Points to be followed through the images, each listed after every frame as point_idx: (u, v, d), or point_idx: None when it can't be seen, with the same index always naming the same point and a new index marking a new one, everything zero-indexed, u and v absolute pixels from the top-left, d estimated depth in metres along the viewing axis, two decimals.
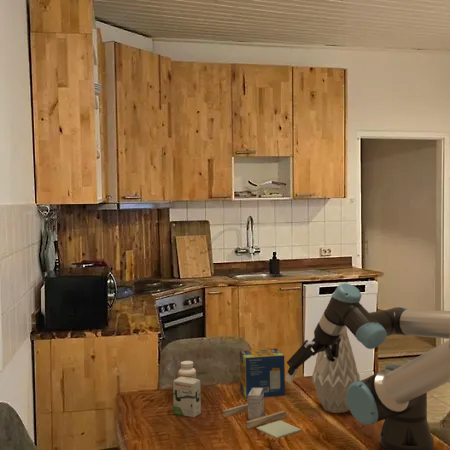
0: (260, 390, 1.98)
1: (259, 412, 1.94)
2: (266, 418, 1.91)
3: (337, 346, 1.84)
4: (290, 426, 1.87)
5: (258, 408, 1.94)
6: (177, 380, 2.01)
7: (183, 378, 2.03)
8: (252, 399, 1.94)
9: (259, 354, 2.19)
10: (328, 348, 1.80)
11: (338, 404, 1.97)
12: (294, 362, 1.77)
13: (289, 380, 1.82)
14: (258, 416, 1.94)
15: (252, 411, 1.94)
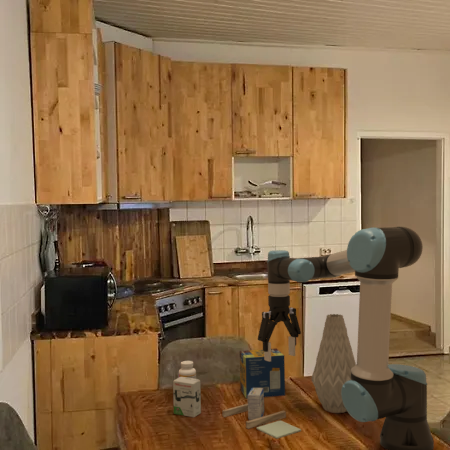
0: (260, 390, 1.98)
1: (259, 412, 1.94)
2: (266, 418, 1.91)
3: (295, 318, 2.06)
4: (290, 426, 1.87)
5: (258, 408, 1.94)
6: (177, 380, 2.01)
7: (183, 378, 2.03)
8: (252, 399, 1.94)
9: (259, 354, 2.19)
10: (286, 315, 2.02)
11: (338, 404, 1.97)
12: (262, 334, 1.98)
13: (268, 358, 1.99)
14: (258, 416, 1.94)
15: (252, 411, 1.94)
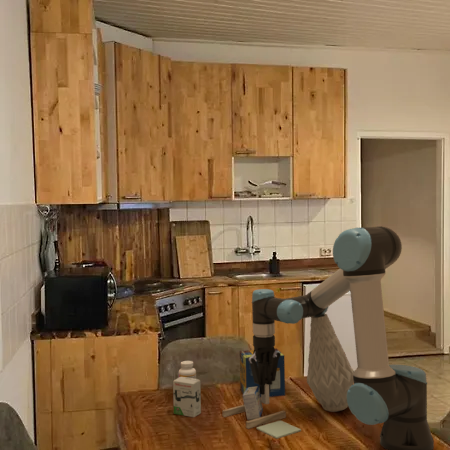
0: (255, 388, 1.98)
1: (256, 410, 1.93)
2: (266, 418, 1.91)
3: (276, 362, 2.01)
4: (290, 426, 1.87)
5: (255, 406, 1.93)
6: (177, 380, 2.01)
7: (183, 378, 2.03)
8: (247, 398, 1.94)
9: None
10: (270, 356, 1.99)
11: (336, 403, 1.97)
12: (256, 379, 1.97)
13: (264, 401, 1.99)
14: (256, 414, 1.93)
15: (249, 410, 1.94)
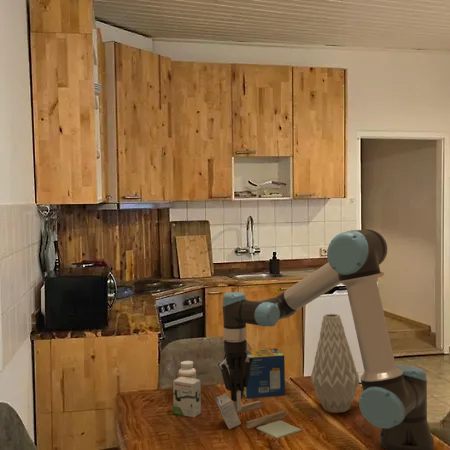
0: (226, 396, 1.91)
1: (236, 417, 1.87)
2: (266, 418, 1.91)
3: (248, 368, 1.94)
4: (290, 426, 1.87)
5: (234, 413, 1.86)
6: (177, 380, 2.01)
7: (183, 378, 2.03)
8: (225, 408, 1.86)
9: (259, 354, 2.19)
10: (241, 362, 1.92)
11: (338, 404, 1.97)
12: (228, 385, 1.90)
13: (236, 408, 1.93)
14: (237, 421, 1.87)
15: (229, 419, 1.86)
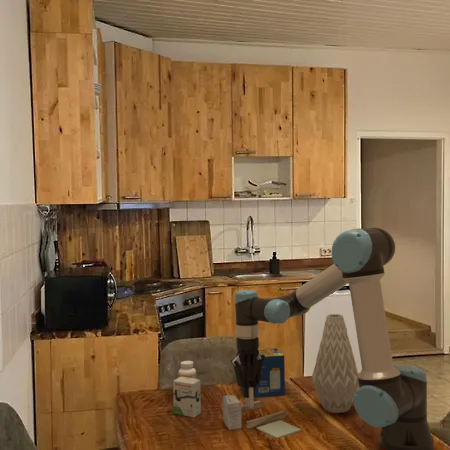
0: (235, 397, 1.91)
1: (240, 420, 1.87)
2: (266, 418, 1.91)
3: (260, 364, 1.97)
4: (290, 426, 1.87)
5: (239, 416, 1.87)
6: (177, 380, 2.01)
7: (183, 378, 2.03)
8: (233, 408, 1.86)
9: None
10: (254, 358, 1.94)
11: (338, 404, 1.97)
12: (240, 382, 1.92)
13: (249, 404, 1.95)
14: (239, 424, 1.87)
15: (233, 420, 1.86)
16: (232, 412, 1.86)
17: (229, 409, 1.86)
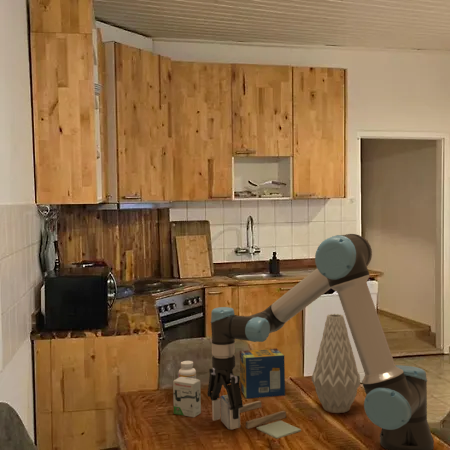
0: None
1: (238, 419, 1.87)
2: (266, 418, 1.91)
3: (232, 388, 1.84)
4: (290, 426, 1.87)
5: None
6: (177, 380, 2.01)
7: (183, 378, 2.03)
8: None
9: (259, 354, 2.19)
10: (222, 379, 1.87)
11: (338, 404, 1.97)
12: None
13: None
14: (238, 423, 1.87)
15: None
16: None
17: (228, 408, 1.86)
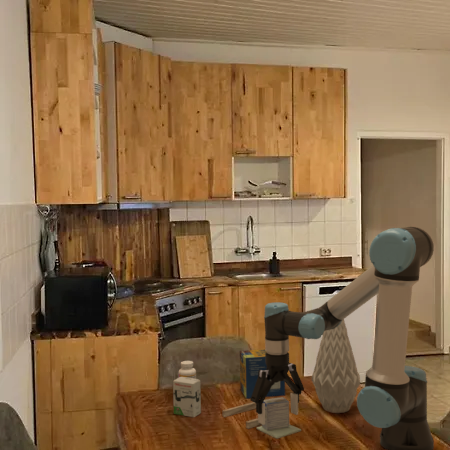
0: (270, 399, 1.87)
1: None
2: None
3: (296, 374, 1.88)
4: (290, 426, 1.87)
5: None
6: (177, 380, 2.01)
7: (183, 378, 2.03)
8: None
9: (259, 354, 2.19)
10: (285, 374, 1.84)
11: (338, 404, 1.97)
12: (256, 395, 1.79)
13: (262, 421, 1.80)
14: None
15: None
16: None
17: None
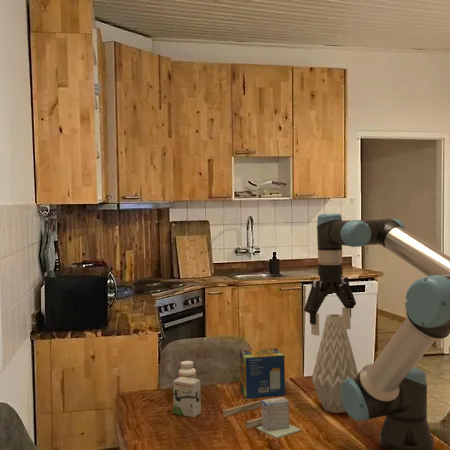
0: (270, 399, 1.87)
1: None
2: None
3: (348, 288, 1.84)
4: (290, 426, 1.87)
5: None
6: (177, 380, 2.01)
7: (183, 378, 2.03)
8: None
9: (259, 354, 2.19)
10: (338, 286, 1.80)
11: (338, 404, 1.97)
12: (310, 304, 1.75)
13: (316, 332, 1.76)
14: None
15: None
16: None
17: None
